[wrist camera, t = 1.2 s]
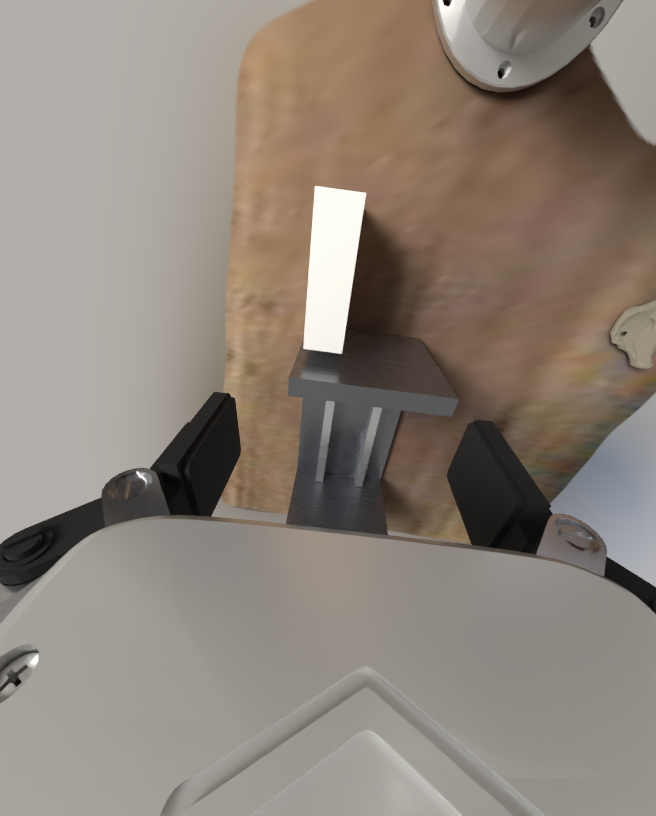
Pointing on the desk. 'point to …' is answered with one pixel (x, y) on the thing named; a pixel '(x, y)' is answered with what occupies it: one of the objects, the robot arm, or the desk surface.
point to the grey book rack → (357, 424)
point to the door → (331, 266)
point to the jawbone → (637, 334)
